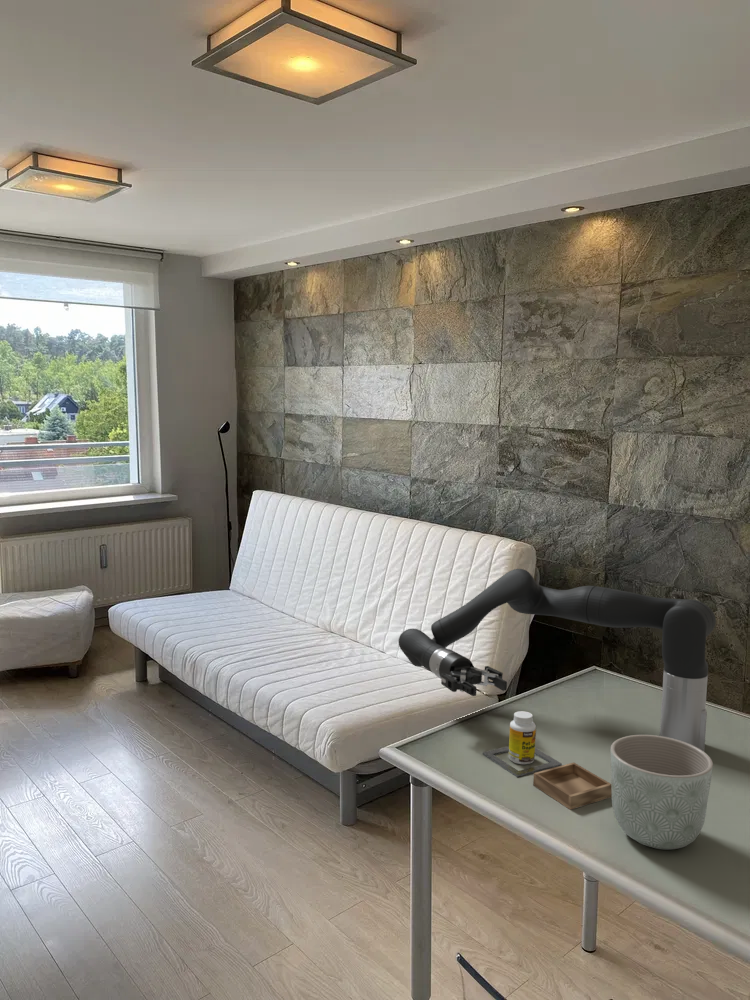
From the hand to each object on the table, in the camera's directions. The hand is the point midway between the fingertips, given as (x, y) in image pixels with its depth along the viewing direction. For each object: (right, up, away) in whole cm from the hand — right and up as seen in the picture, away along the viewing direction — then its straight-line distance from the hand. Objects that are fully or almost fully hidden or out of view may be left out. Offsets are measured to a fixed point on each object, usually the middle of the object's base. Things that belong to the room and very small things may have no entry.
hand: (490, 689), depth 174 cm
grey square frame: (+5, -13, -9) cm, 17 cm away
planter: (+24, -17, -38) cm, 48 cm away
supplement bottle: (+5, -13, -9) cm, 17 cm away
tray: (+13, -15, -22) cm, 30 cm away
